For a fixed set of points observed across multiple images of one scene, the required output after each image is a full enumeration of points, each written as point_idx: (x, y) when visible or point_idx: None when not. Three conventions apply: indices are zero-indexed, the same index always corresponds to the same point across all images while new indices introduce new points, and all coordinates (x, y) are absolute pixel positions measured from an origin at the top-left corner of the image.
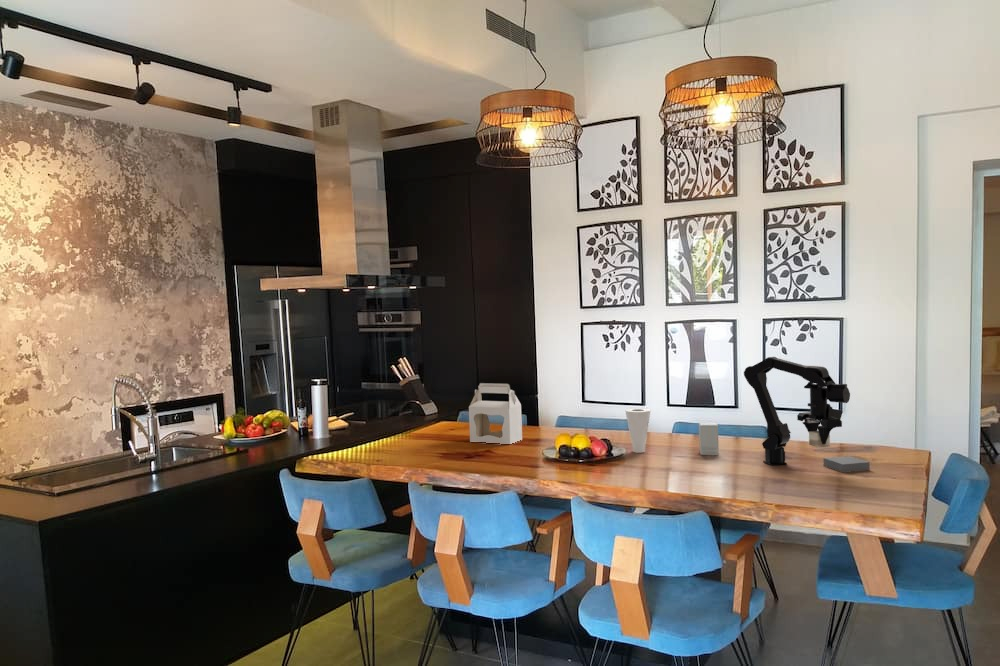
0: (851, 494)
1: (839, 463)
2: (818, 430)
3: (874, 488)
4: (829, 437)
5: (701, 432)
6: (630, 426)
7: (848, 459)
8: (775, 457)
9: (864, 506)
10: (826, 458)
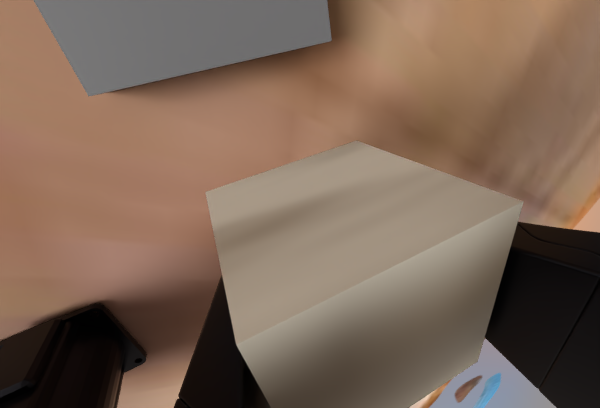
0: (535, 159)
1: (299, 47)
2: (558, 399)
3: (538, 51)
4: (440, 174)
5: None
6: None
7: None
8: (117, 382)
9: (589, 164)
10: (101, 73)
